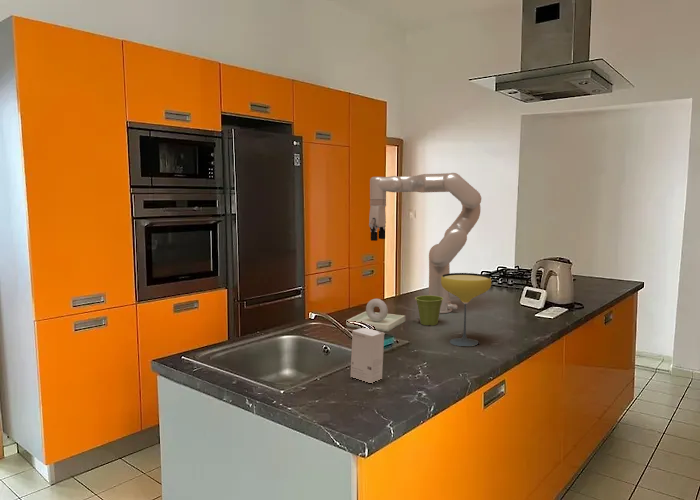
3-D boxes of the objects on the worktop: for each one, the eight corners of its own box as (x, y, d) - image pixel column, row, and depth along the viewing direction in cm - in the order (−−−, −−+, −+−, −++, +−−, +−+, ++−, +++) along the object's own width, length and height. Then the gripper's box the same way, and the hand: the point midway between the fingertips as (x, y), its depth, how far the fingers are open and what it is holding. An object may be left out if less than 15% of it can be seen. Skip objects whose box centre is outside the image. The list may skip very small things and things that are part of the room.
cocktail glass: (481, 352, 184) (483, 282, 181) (432, 345, 192) (434, 278, 190) (494, 340, 199) (496, 275, 196) (448, 333, 208) (450, 271, 205)
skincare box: (350, 378, 158) (350, 330, 157) (362, 373, 163) (362, 326, 161) (372, 385, 153) (372, 335, 151) (384, 379, 158) (384, 331, 156)
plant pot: (419, 319, 232) (420, 294, 231) (446, 322, 227) (446, 296, 225) (410, 325, 221) (411, 299, 220) (438, 328, 216) (438, 301, 215)
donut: (389, 322, 223) (389, 299, 222) (385, 323, 220) (385, 300, 219) (368, 319, 228) (368, 296, 227) (364, 321, 225) (364, 298, 224)
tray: (405, 321, 228) (405, 315, 228) (388, 331, 211) (388, 325, 211) (365, 316, 237) (365, 311, 237) (346, 326, 220) (346, 320, 220)
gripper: (377, 202, 255) (377, 238, 257) (363, 203, 239) (363, 241, 241) (392, 202, 252) (391, 238, 254) (378, 203, 236) (378, 241, 238)
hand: (378, 239), depth 247 cm, fingers open, 9 cm apart
